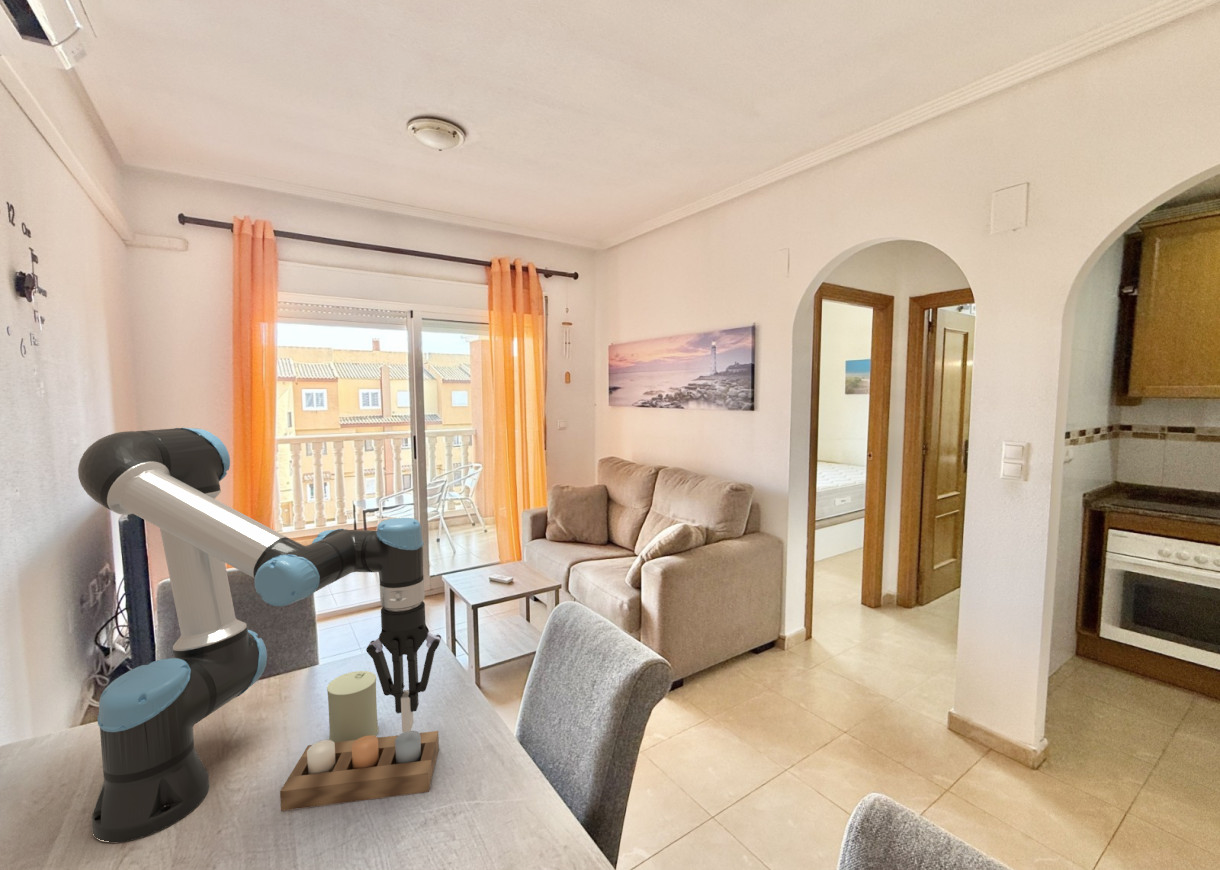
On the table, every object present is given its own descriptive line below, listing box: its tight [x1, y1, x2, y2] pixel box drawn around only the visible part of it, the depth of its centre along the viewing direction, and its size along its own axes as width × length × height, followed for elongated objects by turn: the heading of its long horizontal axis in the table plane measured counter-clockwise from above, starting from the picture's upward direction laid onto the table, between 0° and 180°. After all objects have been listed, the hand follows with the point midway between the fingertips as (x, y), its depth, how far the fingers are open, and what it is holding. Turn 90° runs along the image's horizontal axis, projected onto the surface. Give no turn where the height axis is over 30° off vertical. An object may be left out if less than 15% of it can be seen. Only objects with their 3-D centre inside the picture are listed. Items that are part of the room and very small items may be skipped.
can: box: [326, 670, 379, 742], centre depth 108 cm, size 9×9×12 cm
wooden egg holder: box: [279, 730, 440, 812], centre depth 97 cm, size 24×12×4 cm, turn 100°
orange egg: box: [352, 735, 379, 769], centre depth 97 cm, size 4×4×5 cm
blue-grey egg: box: [395, 730, 421, 764], centre depth 98 cm, size 4×4×5 cm
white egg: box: [307, 739, 336, 775], centre depth 95 cm, size 4×4×5 cm
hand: (407, 727), depth 98 cm, fingers closed
